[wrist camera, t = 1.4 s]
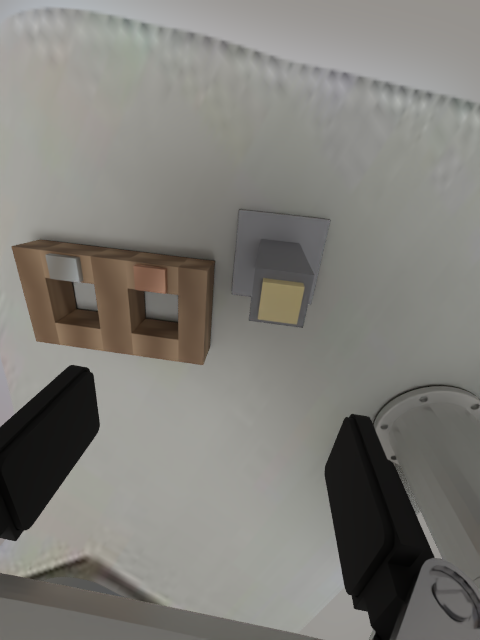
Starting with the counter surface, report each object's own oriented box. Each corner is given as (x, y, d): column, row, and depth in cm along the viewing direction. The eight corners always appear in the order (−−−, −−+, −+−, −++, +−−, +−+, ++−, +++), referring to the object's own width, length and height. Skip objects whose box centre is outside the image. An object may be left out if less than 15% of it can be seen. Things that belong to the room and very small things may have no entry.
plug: (299, 243, 25) (316, 279, 16) (292, 280, 27) (304, 333, 17) (261, 238, 26) (254, 271, 16) (256, 275, 27) (247, 326, 17)
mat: (329, 219, 25) (330, 220, 24) (310, 302, 28) (311, 304, 28) (240, 209, 25) (239, 209, 25) (232, 292, 29) (231, 294, 28)
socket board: (214, 261, 28) (205, 272, 24) (209, 347, 32) (201, 368, 28) (40, 239, 28) (5, 247, 25) (58, 326, 33) (32, 344, 29)
